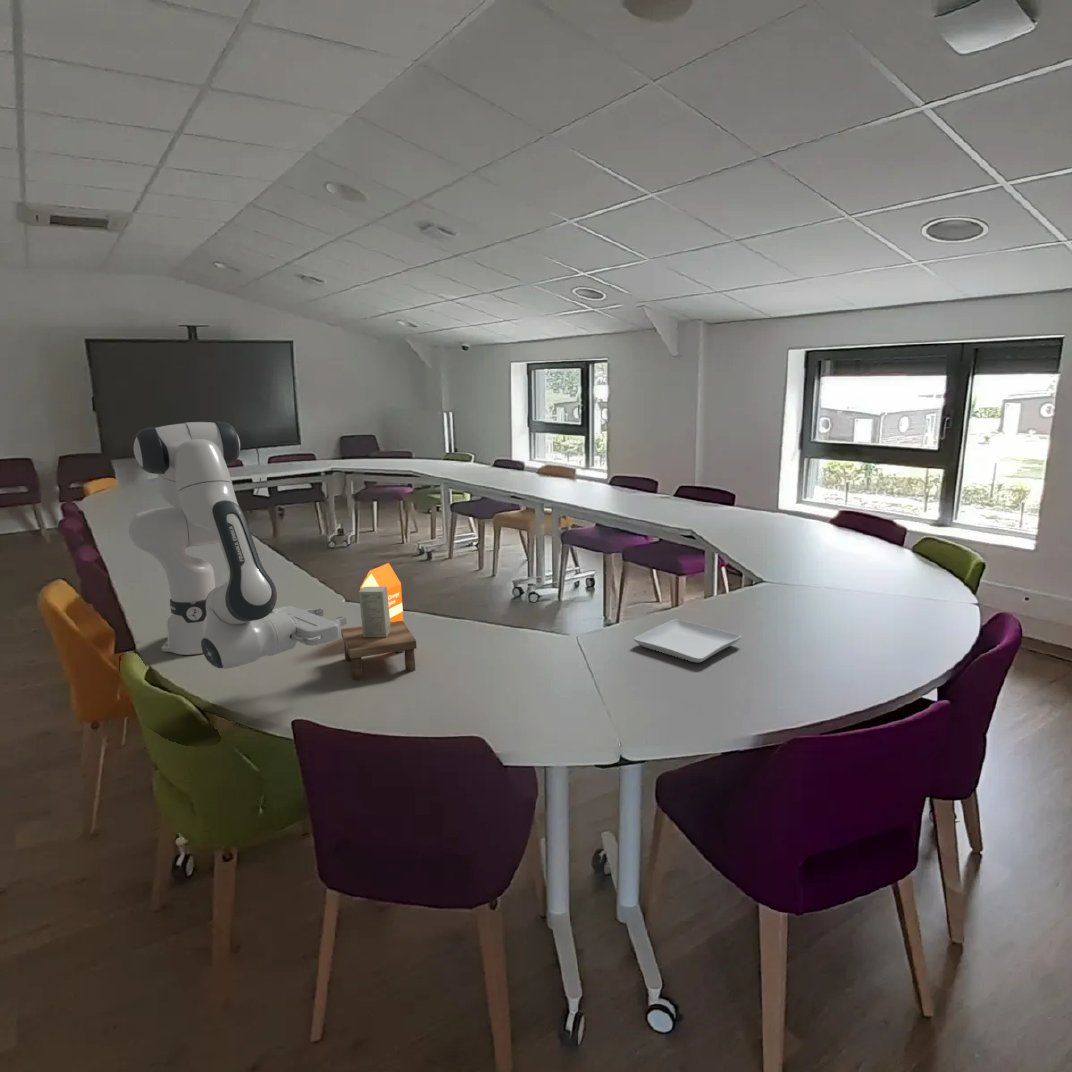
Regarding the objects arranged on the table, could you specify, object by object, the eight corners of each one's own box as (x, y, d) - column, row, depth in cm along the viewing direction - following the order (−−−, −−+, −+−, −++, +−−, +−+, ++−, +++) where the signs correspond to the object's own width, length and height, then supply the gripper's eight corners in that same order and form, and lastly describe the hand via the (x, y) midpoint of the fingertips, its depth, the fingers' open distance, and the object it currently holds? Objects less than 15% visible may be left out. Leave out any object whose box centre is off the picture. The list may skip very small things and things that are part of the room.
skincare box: (391, 631, 180) (388, 586, 178) (386, 638, 176) (383, 591, 173) (367, 631, 181) (364, 585, 178) (361, 637, 177) (358, 591, 174)
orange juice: (404, 631, 203) (400, 564, 199) (385, 641, 195) (381, 572, 191) (382, 627, 206) (377, 561, 202) (362, 637, 199) (357, 569, 194)
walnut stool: (343, 657, 184) (340, 629, 183) (403, 648, 190) (402, 620, 188) (352, 682, 170) (349, 650, 168) (417, 670, 176) (416, 640, 174)
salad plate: (631, 649, 189) (631, 637, 188) (675, 628, 204) (676, 617, 203) (700, 671, 175) (700, 658, 174) (742, 647, 189) (743, 635, 189)
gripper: (304, 629, 150) (358, 612, 160) (255, 609, 163) (308, 594, 173) (306, 657, 152) (360, 638, 162) (257, 634, 165) (310, 618, 175)
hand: (333, 615), depth 168 cm, fingers open, 8 cm apart
